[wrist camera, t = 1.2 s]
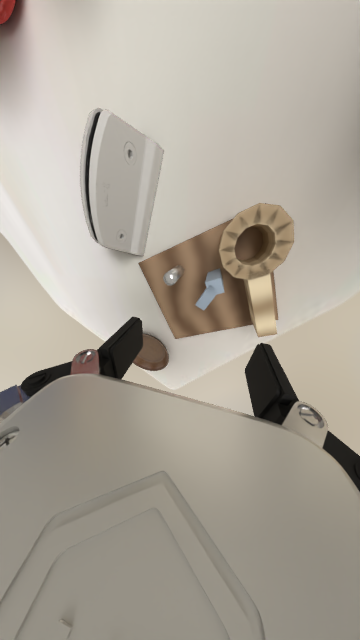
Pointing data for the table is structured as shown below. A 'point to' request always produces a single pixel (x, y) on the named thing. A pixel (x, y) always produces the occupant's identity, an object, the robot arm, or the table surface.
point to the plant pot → (6, 9)
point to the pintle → (173, 275)
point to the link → (259, 259)
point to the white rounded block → (118, 181)
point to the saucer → (152, 354)
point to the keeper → (211, 288)
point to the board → (203, 283)
